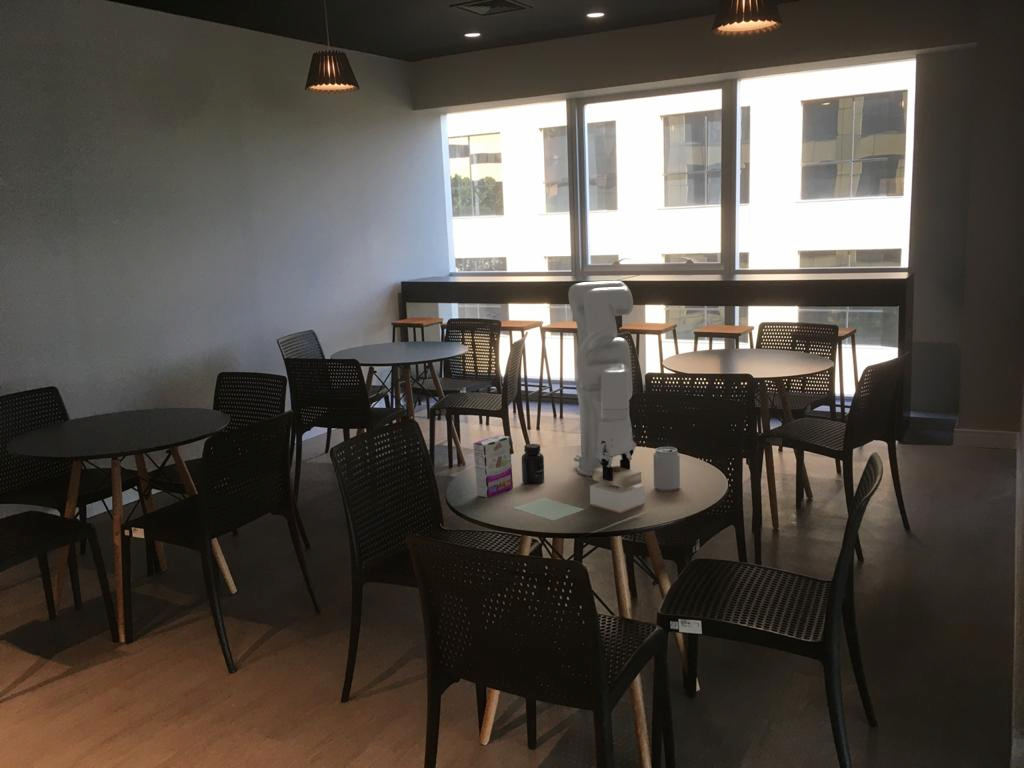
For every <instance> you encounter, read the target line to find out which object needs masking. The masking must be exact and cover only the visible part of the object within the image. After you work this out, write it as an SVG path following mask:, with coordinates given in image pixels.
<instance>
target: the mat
mask: <svg viewBox="0 0 1024 768" xmlns="http://www.w3.org/2000/svg"><path fill="white" fill-rule="evenodd" d="M513 509H515V510H518V511H521V512H524V513H528V514H532V515H533V516H537V517H540V518H543V519H547V520H549V521H552V522H554V521H556V520H559V519H562V518H565V517H568V516H571V515H573V514H577V513H578V512H582V511H584V510H585V509H584V508H582V507H577V506H573V505H570V504H568V503H567V504H566V503H564V502H560V501H557V500H554V499H550V498H547V497H541V498H538V499H536V500H533V501H530V502H525V503H524V504H520V505H517V506H514V507H513Z"/></svg>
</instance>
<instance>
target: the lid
mask: <svg viewBox="0 0 1024 768" xmlns="http://www.w3.org/2000/svg"><path fill="white" fill-rule="evenodd" d="M613 465H614V464H613ZM613 465H611V467H613V481H607V480H604V479H603V467H598V468H595V469H593V476H592V480H593V481H597V482H599V483H600V482H604V483H607V484H611V485H615V486H619V487H623V488H628V487H631V486H633V485H636V484H641V483H642V472H641V471H638V470H635V469H631V468H630V469H626V468H621V467H620V465H615V466H613Z"/></svg>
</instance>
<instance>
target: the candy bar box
mask: <svg viewBox="0 0 1024 768" xmlns="http://www.w3.org/2000/svg"><path fill="white" fill-rule="evenodd" d="M511 449H512V448H511V436H508V435H502V434H498V435H495V436H491V437H489V438H485V439H483V440H478V441H475V442H473V457H474V467H475V469H474V470H475V482H476V483H475V484H476V495H477V497H480V498H485V499H486V498H489V497H493V496H495V495H499V494H502V493H505V492H509V491H512V490H513V489H514V484H513V483H514V481H513V466H512V451H511Z"/></svg>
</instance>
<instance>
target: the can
mask: <svg viewBox="0 0 1024 768" xmlns="http://www.w3.org/2000/svg"><path fill="white" fill-rule="evenodd" d="M680 459H681V458H680V453H679V452H678V449H677V448H676V447H673V446H661V447H657V448H655V452H654V453H653V486H654V488H656V490H658V489H659V490H658V491H660V490H662V491H661V492H674V491H676V490H678V489H679V488H680V486H681V477H680V476H681V472H680V467H681V462H680V461H681V460H680ZM673 490H674V491H673Z"/></svg>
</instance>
